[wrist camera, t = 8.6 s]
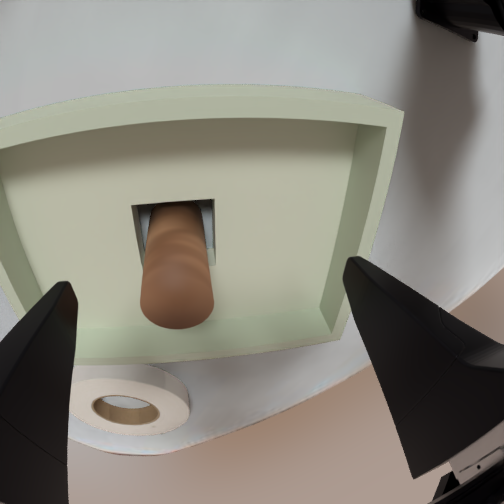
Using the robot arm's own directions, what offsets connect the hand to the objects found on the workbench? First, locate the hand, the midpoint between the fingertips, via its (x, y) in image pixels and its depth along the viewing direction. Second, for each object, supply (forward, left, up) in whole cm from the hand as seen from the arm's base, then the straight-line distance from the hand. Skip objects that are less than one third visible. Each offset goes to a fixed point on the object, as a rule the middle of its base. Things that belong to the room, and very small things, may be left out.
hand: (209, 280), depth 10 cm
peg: (+1, +5, -12) cm, 13 cm away
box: (+1, +5, -12) cm, 13 cm away
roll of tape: (+10, +28, -12) cm, 32 cm away
